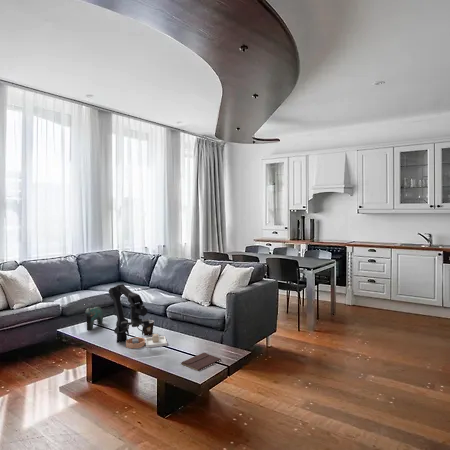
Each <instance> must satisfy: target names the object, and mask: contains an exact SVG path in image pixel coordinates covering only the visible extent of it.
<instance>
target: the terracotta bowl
mask: <svg viewBox="0 0 450 450" xmlns="http://www.w3.org/2000/svg"><path fill="white" fill-rule="evenodd" d="M136 338H138V340H139V343H134V344H132V339H136ZM144 346H146V342H145V338H143V337H141V336H140V337H139V336H138V337H130V338H129V339H128V338H127V340H126V342H125V348H129V349H140V348H142V347H144Z"/></svg>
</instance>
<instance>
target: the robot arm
mask: <svg viewBox="0 0 450 450" xmlns="http://www.w3.org/2000/svg"><path fill="white" fill-rule="evenodd" d="M108 294H109V297H110V298H111V300H113V305H114V309H115V315H116V319H117V320H116V323H115V324H116V325H115V328H114V329H113V332H114V334H115V335H116V343H126V340H128V337H130V333H129V330H130V326H131V327H132V328H137V327H138V328H139V327H140V326H141V325H140V324H143V327H142V326H141V327H142V329H141V330H142V331H141V336H143V335H144V330H145V327H147V325H149V320H150V319H146V318H145V319H142V318H140V316H142V317H145V316H146V315H147V313H148V308H147V307H145V305H144V300H142V297H141V296H140V294H138V293H136V292H133V291H132V290H130V289H129V288H128V287H127V286H126V285H125V284H123V283H122V284H117V285H115V286H114V287H110V288H109V289H108ZM122 295H123V296H125V298H127V302H128V303H129V305H128V306H129V307H130V321H129V320H128V319H126V318H125V315H124V310H123V304H122V300H121V297H122Z"/></svg>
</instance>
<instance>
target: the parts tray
mask: <svg viewBox="0 0 450 450" xmlns="http://www.w3.org/2000/svg"><path fill="white" fill-rule="evenodd" d="M158 336H159V335H158ZM144 339H145V346H146V348H155V347H156V348H157V347H163V346H168V342H167V339H166V336H165V335H160V336H159V342H153V341H152V336H150V337H148V336H147V337H145V338H144Z"/></svg>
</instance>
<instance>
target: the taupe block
mask: <svg viewBox="0 0 450 450" xmlns="http://www.w3.org/2000/svg"><path fill="white" fill-rule="evenodd" d="M151 337H152V341H153V342H159V334H158V333H153V334H152V336H151Z"/></svg>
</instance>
